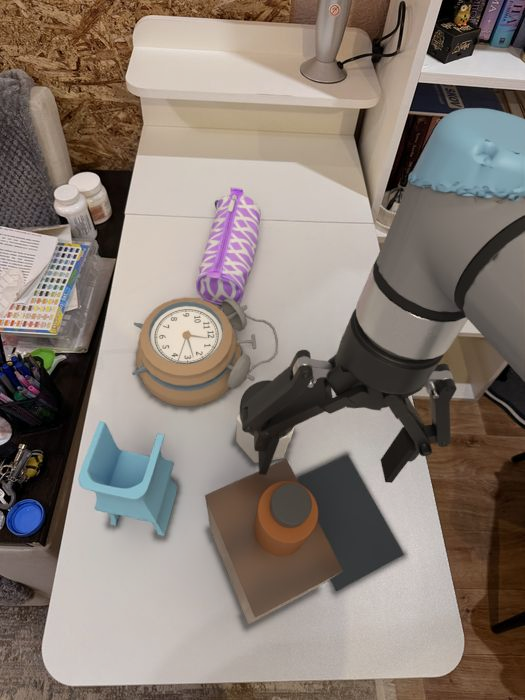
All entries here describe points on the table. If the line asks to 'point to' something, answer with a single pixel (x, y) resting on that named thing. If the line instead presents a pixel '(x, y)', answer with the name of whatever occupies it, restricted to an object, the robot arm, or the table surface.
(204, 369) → the alarm clock
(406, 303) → the robot arm
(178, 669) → the table surface
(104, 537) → the table surface
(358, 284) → the table surface
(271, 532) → the spice bottle
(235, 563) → the block
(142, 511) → the blue doll chair
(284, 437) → the jar
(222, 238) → the pencil case
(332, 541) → the mat
